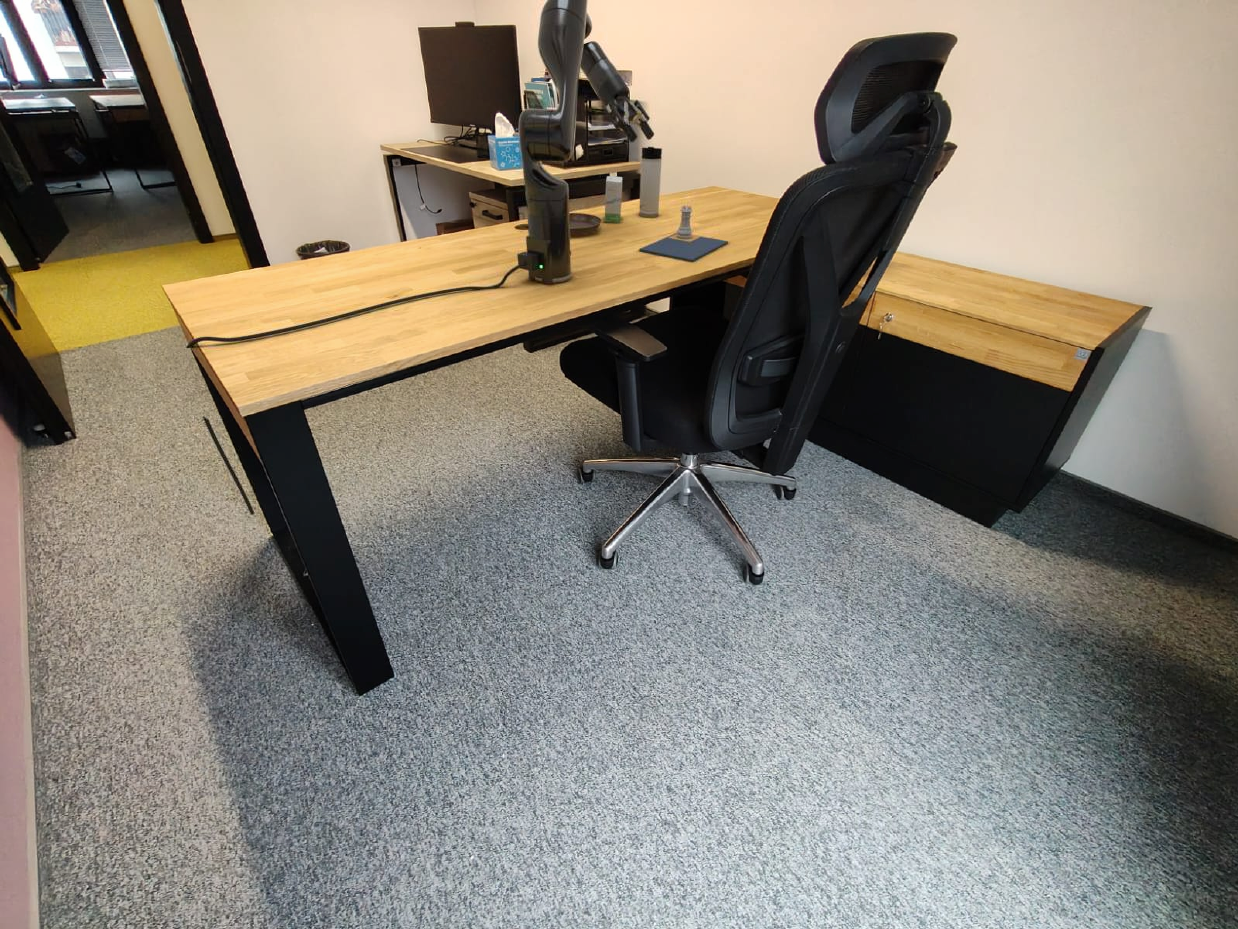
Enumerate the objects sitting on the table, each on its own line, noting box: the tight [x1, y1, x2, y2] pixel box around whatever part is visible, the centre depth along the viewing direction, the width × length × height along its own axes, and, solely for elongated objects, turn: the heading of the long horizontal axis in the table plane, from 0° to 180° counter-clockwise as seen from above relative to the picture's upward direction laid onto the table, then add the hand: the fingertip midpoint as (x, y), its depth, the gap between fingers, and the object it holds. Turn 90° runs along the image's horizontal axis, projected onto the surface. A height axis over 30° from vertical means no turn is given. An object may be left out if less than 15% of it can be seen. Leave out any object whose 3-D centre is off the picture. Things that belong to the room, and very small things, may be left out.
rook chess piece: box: [676, 205, 693, 239], centre depth 157 cm, size 4×4×8 cm
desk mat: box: [638, 232, 729, 263], centre depth 153 cm, size 22×16×1 cm
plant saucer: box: [569, 212, 603, 237], centre depth 164 cm, size 18×18×3 cm
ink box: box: [604, 175, 623, 224], centre depth 174 cm, size 9×5×12 cm, turn 179°
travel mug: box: [638, 146, 663, 218], centre depth 177 cm, size 6×7×20 cm
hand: (643, 138), depth 149 cm, fingers open, 8 cm apart
